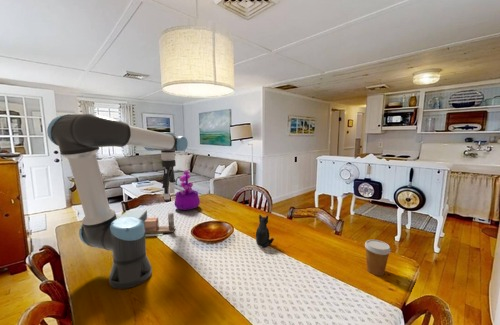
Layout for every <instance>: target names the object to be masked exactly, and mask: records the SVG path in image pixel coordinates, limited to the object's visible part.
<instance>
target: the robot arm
mask: <svg viewBox="0 0 500 325" xmlns="http://www.w3.org/2000/svg"><path fill="white" fill-rule="evenodd" d="M46 133H47V137H48V139H49V140H50V141H51V143H53V144H54V145H56V146H58V148H59V151H60V155H61V156H62V157H65V158H67V160H68V163H69V166H70V169H71V174H72V178H73V180H74V183H75V188H76V190H77V193H78V194H77V195H78V198H79V200H80V204H81V208H82V211H83V213H84V214H83V215H84V217H83V218H82V220H81V224H80V228H79V233H78V235H79V238H80V241H81V242H82V243H83V244H84V245H87V246H89V247H92V248H97V249H101V250H105V251H110V252H112V266H111V269H110V272H109V275H108V276H109V278H108V281H109V286H110V287H112V288H113V289H119V290H125V289H131V288H133V287H136V286H139V285H141V284H143V283H144V282H146V281H147V280H148V279H149V278H150V277H151V275H152V273H153V272H152V265H151V262H150V259H149V258H148V256H147V250H146V248H147V247H146V244H147V243H146V236H145V228H144V223H143V221H142V220H141V219H139V218H136V217H122V218H119V217H118V218H117V214H116V211H115V210H113V209H111V208H110V204H109V201H108V196H107V193H106V189H105V184H104V181H103V176H102V173H101V169H100V165H99V161H98V156H97V153H98V152H99V151H100V148H104V147H107V148H108V147H109V148H110V147H118V148H123V147H126V146H131V147H141V148H143V149H145V151H149V152H150V151H151V152H153V151H160V152H161V153H160V154H161V155H160V156H161V158H160V159H161V167H162V168H165V169H163V178H162V180H163V181H162V186H161V188H162V189H163V196H164V198H163V200H171V197H170V195H171V194H176V193H175V183H176V178H175V172H174V171H175V170H174V167H176V166H177V165H176V156H177V153H176V152H185V151H186V150H187V149H188V144H189V143H188V142H189V141H188V139H187V137H186V136H184V135H183V136H182V135H175V133H174V132H170V131H169V132H165V131H164V132H159V131H155V130H150V129H145V128H142V127H137V126H133V125H130V124H128V123H127V122H126V121H124V120H118V119H115V118H112V117H108V116H104V115H99V114H94V113H83V114H81V113H79V114H75V113H74V114H73V113H72V114H71V113H70V114H69V113H68V114H64V115H63V114H62V115H59V116H55V118H53V119H52V120H51V121H50V123H48V126H47V131H46Z"/></svg>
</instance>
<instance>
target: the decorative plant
mask: <svg viewBox="0 0 500 325" xmlns="http://www.w3.org/2000/svg"><path fill="white" fill-rule="evenodd" d="M190 178H191V175H190V171H189V170H187V169H186V170H183V175H181V176H179V181H180V182H181V183H180V186H181V187H182V188H183V190H180V191H177V192H176V193H175V200H174V207H175V208H176V209H179V210H184V211H188V210H192V209H193V210H194V209H195V208H197V207H199V206H200V203H201V201H200V196H199V193H198V191H196V190H194V189H193V188H192V187H193V186H194V184H193V182H189V179H190Z"/></svg>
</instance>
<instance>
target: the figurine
mask: <svg viewBox="0 0 500 325" xmlns="http://www.w3.org/2000/svg"><path fill="white" fill-rule="evenodd" d="M258 219H259V220H258V221H259V223H258V227H257V229H256V232H255V242H256V243H257V244H258V246H260V247H262V248H268V247H269V246H270V245H271V244H272V243H273V241H274V240H275V239H274V238H273V237H272V238H270V230H269V228H268V226H267V224H268V223H269V215H265V216H262V215H261V214H259V215H258Z"/></svg>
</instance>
